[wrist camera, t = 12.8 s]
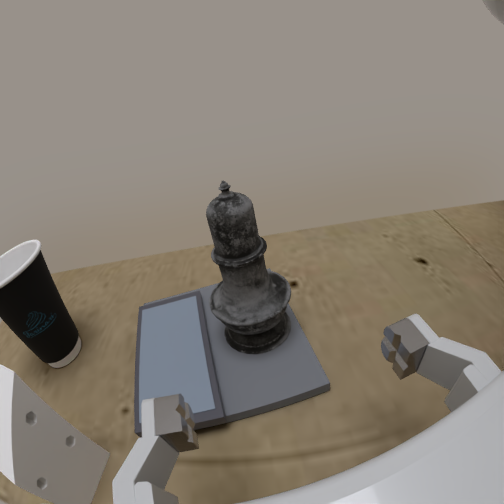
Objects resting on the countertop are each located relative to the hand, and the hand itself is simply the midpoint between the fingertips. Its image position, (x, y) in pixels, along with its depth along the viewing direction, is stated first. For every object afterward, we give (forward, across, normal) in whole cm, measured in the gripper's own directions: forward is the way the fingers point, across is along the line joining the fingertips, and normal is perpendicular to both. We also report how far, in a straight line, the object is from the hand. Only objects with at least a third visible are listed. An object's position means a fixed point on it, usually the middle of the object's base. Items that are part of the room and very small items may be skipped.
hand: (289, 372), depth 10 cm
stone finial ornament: (+10, 0, +8) cm, 13 cm away
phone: (+9, +7, +8) cm, 14 cm away
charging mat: (+10, +3, +9) cm, 14 cm away
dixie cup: (+14, +20, +9) cm, 26 cm away
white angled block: (0, +16, +9) cm, 18 cm away
